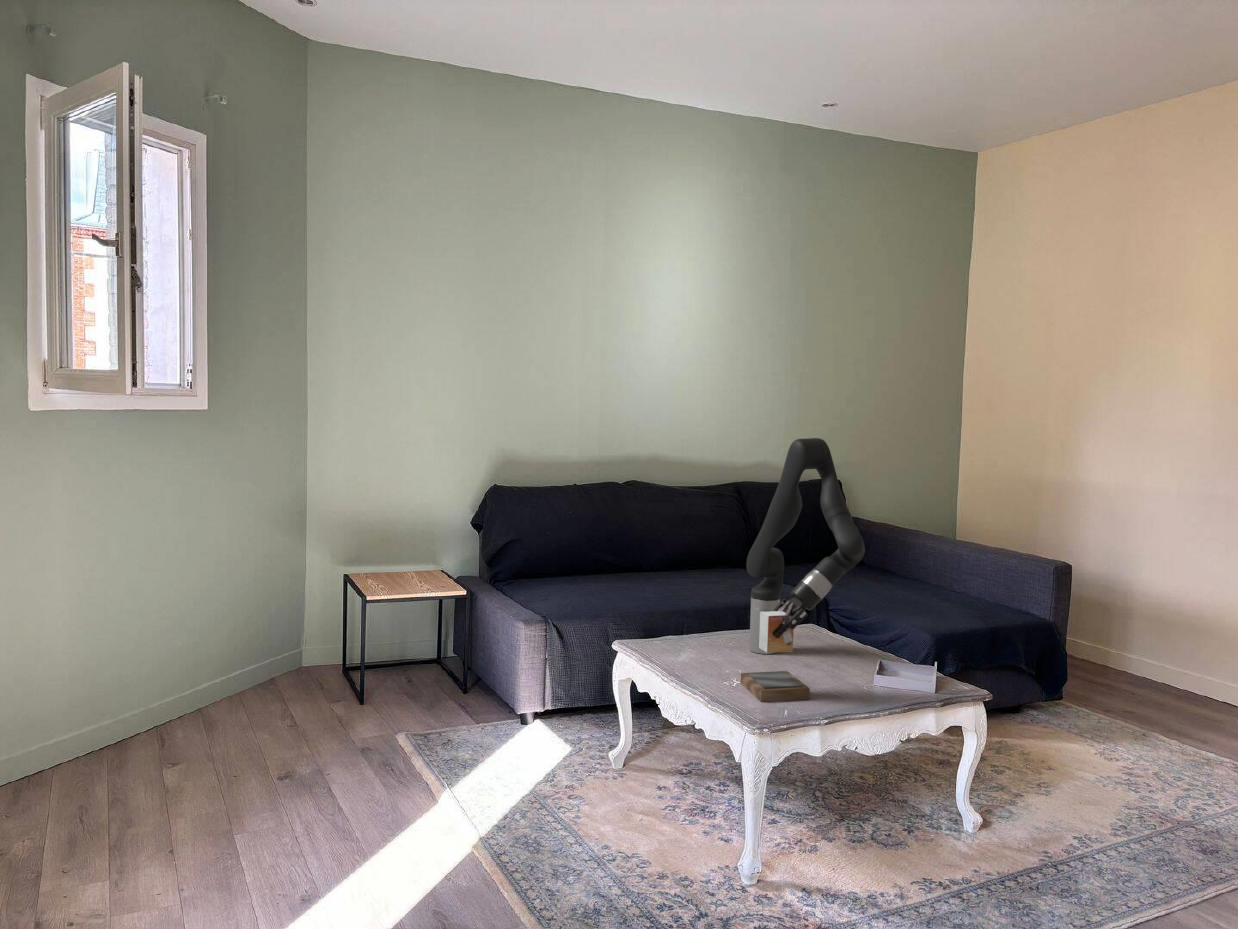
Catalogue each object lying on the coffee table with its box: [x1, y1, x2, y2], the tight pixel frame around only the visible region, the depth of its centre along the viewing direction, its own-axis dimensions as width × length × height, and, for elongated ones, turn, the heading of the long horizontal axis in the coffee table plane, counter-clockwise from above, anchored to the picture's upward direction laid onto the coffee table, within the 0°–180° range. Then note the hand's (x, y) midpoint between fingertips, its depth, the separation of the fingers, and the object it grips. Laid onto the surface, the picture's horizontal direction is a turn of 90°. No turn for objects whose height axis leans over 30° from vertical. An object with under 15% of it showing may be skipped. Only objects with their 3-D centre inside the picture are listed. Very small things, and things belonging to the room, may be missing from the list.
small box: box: [759, 611, 795, 653], centre depth 262 cm, size 8×6×10 cm
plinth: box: [740, 670, 811, 703], centre depth 263 cm, size 16×14×3 cm
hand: (770, 633), depth 261 cm, fingers closed on small box, 5 cm apart
